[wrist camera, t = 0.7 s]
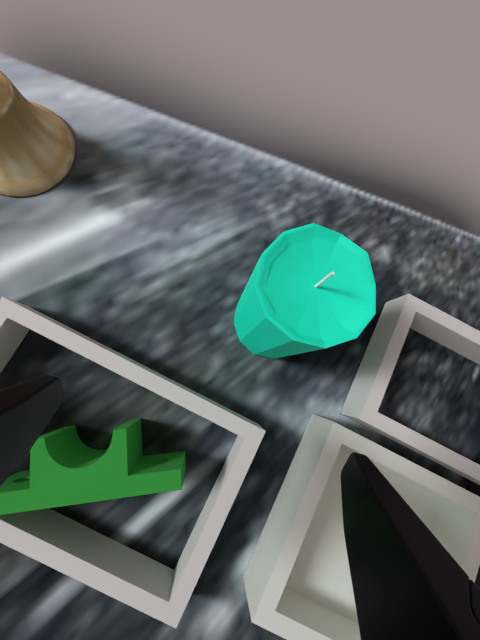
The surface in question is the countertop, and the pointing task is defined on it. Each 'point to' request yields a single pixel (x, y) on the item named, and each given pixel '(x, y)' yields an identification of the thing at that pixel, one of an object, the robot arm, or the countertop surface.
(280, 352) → the candle
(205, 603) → the countertop surface
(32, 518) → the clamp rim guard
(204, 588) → the countertop surface
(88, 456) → the pipe clamp
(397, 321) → the grey rectangular frame
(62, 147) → the hand bell
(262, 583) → the bin
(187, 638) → the countertop surface
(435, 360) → the countertop surface
